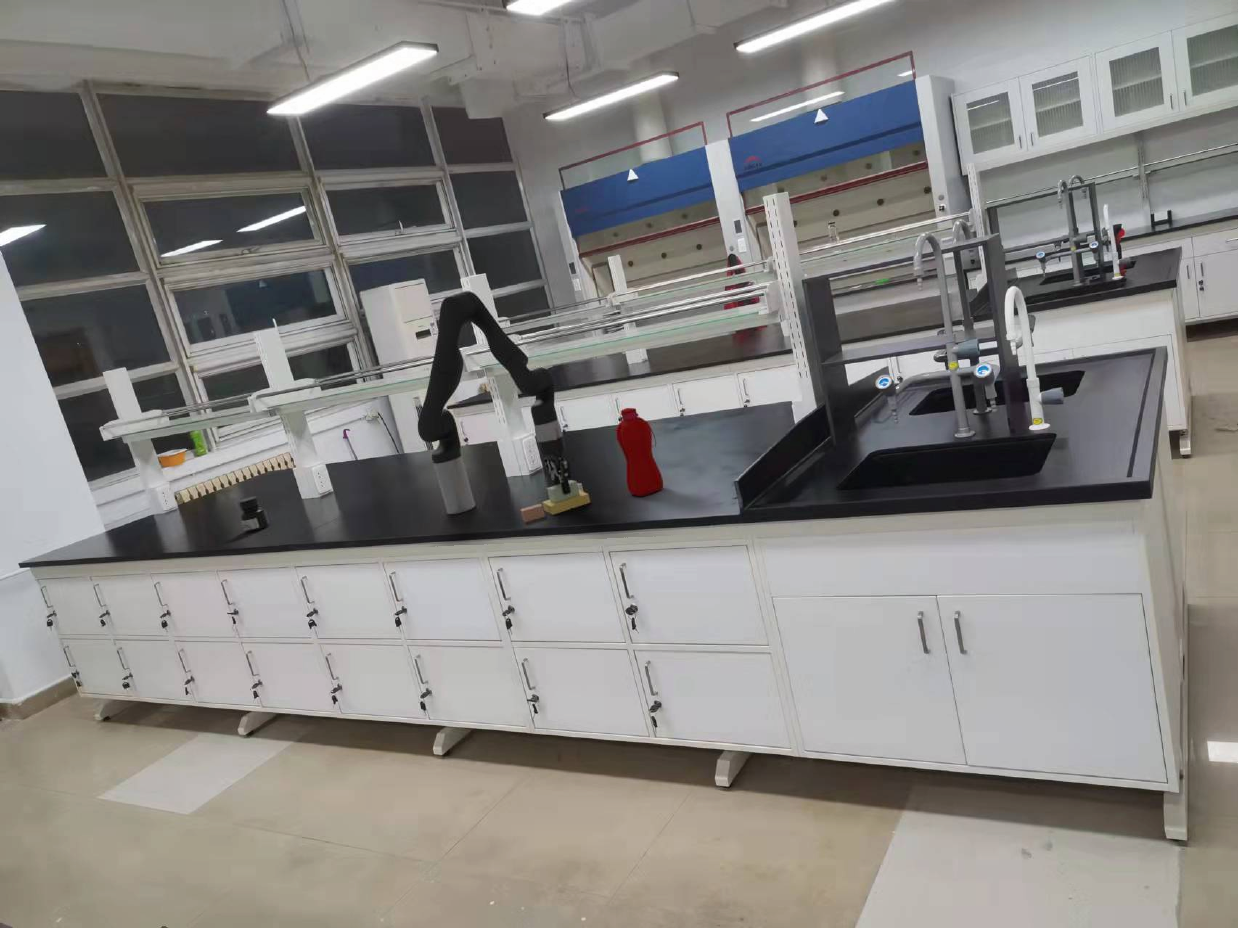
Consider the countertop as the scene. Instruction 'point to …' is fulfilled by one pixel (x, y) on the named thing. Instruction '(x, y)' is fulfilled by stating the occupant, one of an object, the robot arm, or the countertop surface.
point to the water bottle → (638, 454)
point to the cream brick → (580, 486)
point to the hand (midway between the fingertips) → (563, 492)
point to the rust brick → (532, 512)
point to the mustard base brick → (566, 503)
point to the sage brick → (557, 493)
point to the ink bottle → (252, 514)
